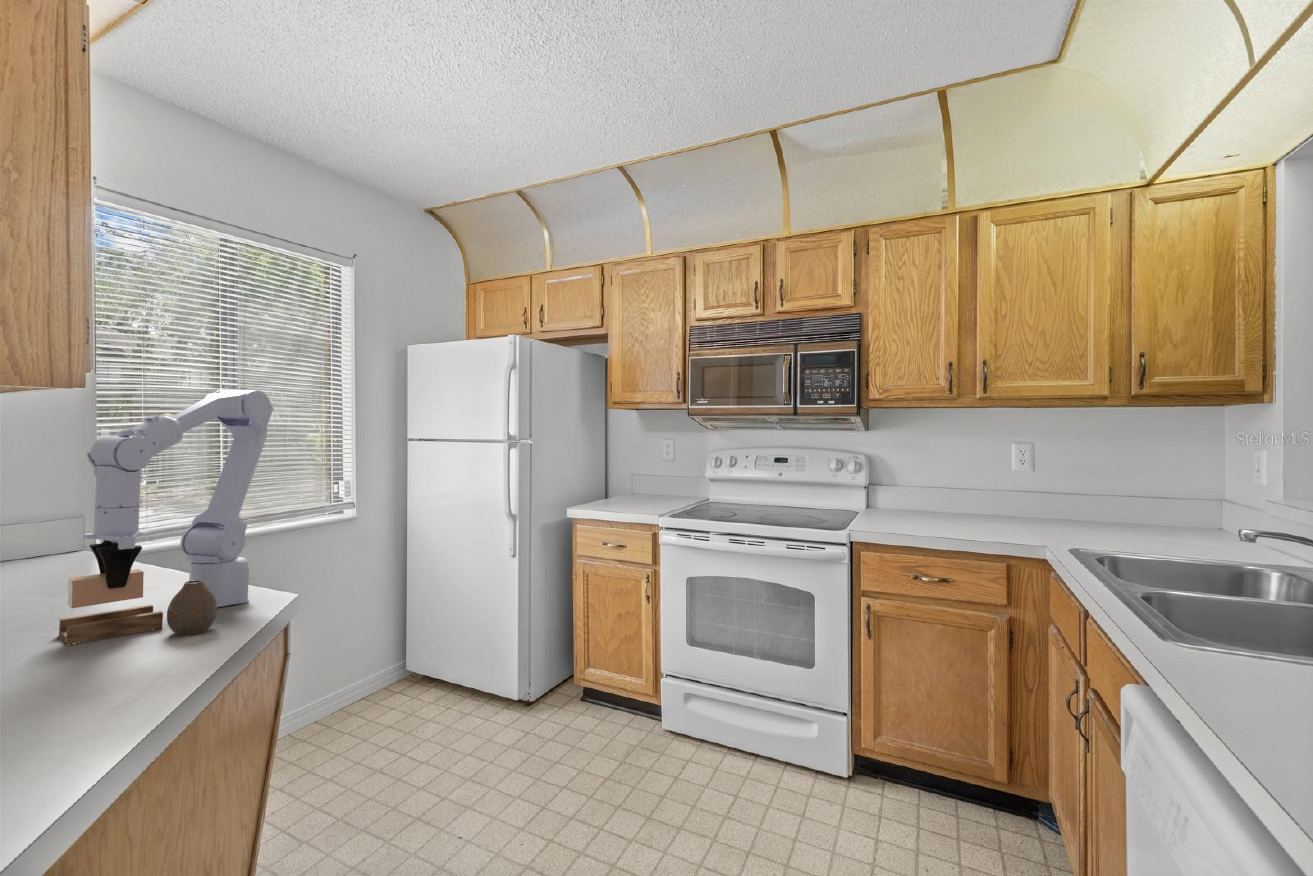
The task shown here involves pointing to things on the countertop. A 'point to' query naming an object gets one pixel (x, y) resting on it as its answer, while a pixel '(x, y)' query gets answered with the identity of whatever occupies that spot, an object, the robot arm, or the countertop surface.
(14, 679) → the countertop surface
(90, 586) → the clay strip
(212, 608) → the vase
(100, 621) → the rack
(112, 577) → the robot arm
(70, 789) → the countertop surface
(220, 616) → the countertop surface
